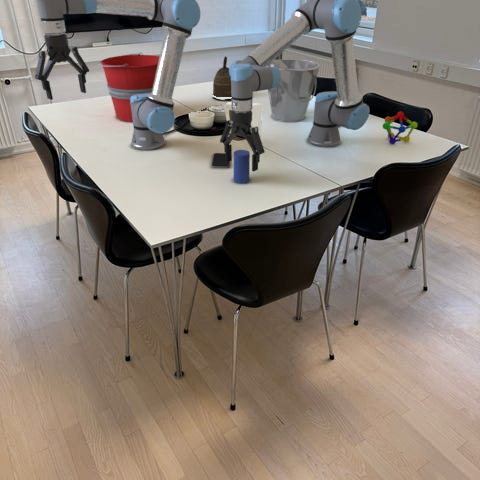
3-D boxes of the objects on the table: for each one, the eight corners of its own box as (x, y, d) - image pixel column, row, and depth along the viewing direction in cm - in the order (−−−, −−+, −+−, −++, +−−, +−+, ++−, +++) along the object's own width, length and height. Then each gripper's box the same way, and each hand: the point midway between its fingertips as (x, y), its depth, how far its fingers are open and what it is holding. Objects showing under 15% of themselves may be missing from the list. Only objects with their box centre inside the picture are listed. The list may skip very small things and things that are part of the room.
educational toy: (377, 146, 209) (379, 114, 202) (384, 138, 219) (386, 107, 211) (411, 149, 202) (415, 116, 195) (417, 141, 212) (420, 109, 204)
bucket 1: (116, 106, 262) (108, 51, 246) (175, 107, 261) (171, 52, 245) (98, 124, 233) (88, 63, 217) (164, 125, 232) (159, 64, 216)
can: (238, 184, 170) (238, 156, 164) (230, 179, 175) (230, 151, 168) (252, 181, 173) (252, 153, 166) (244, 176, 177) (244, 148, 171)
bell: (227, 105, 294) (202, 96, 282) (238, 66, 289) (213, 55, 277) (243, 108, 280) (217, 98, 268) (255, 66, 275) (229, 55, 263)
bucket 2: (289, 128, 228) (292, 72, 213) (250, 116, 247) (251, 63, 232) (326, 117, 245) (332, 64, 230) (287, 106, 263) (290, 56, 249)
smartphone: (211, 166, 183) (213, 153, 196) (211, 167, 184) (213, 154, 196) (229, 166, 183) (230, 153, 196) (229, 168, 184) (230, 154, 196)
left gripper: (25, 38, 145) (40, 103, 156) (92, 31, 161) (101, 91, 172) (15, 36, 149) (30, 100, 161) (81, 29, 165) (91, 88, 176)
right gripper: (209, 106, 164) (211, 160, 175) (262, 119, 150) (260, 177, 161) (223, 102, 168) (224, 155, 180) (275, 114, 154) (273, 171, 166)
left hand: (67, 95), depth 166 cm, fingers open, 13 cm apart
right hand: (241, 165), depth 170 cm, fingers open, 13 cm apart
